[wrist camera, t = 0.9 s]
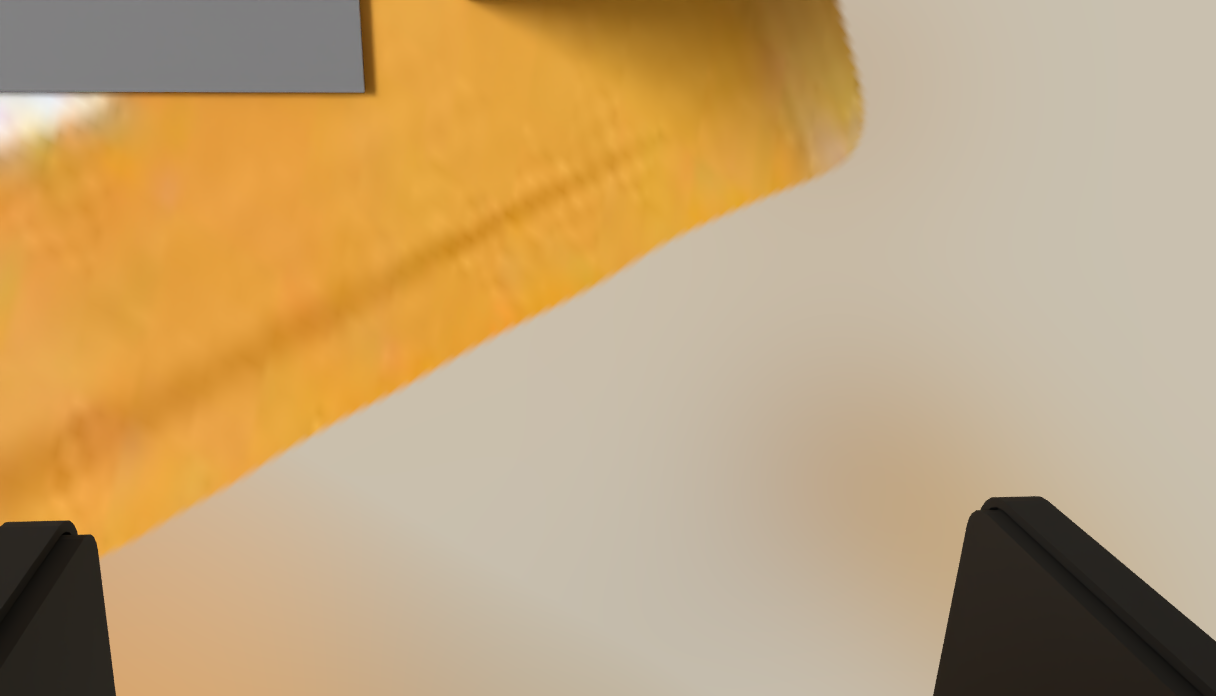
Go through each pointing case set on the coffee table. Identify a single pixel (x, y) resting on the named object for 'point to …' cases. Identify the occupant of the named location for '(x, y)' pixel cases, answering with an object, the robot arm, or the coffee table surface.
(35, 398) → the coffee table surface
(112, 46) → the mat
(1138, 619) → the robot arm
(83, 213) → the coffee table surface
